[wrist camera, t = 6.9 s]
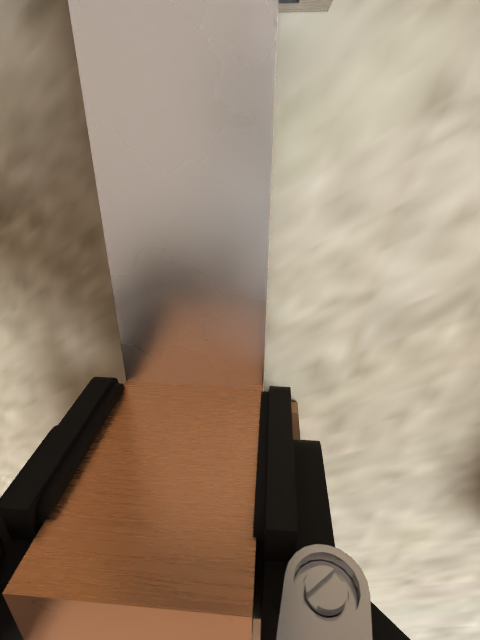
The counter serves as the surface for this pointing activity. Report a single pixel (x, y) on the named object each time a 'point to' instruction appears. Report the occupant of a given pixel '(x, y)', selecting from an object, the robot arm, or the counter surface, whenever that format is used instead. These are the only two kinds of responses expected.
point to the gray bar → (170, 328)
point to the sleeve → (304, 5)
